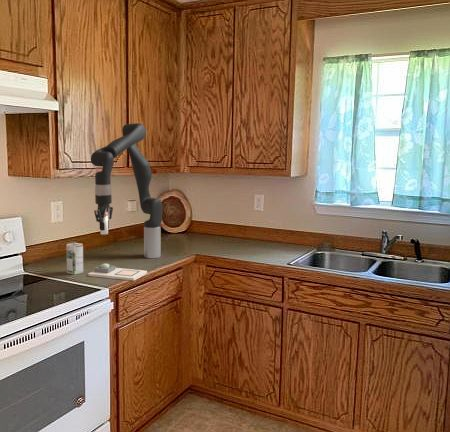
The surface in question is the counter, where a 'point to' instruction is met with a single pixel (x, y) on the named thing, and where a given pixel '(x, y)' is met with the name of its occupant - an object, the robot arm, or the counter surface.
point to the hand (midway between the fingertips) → (104, 229)
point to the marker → (105, 225)
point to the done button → (104, 265)
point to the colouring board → (117, 273)
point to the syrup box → (74, 258)
